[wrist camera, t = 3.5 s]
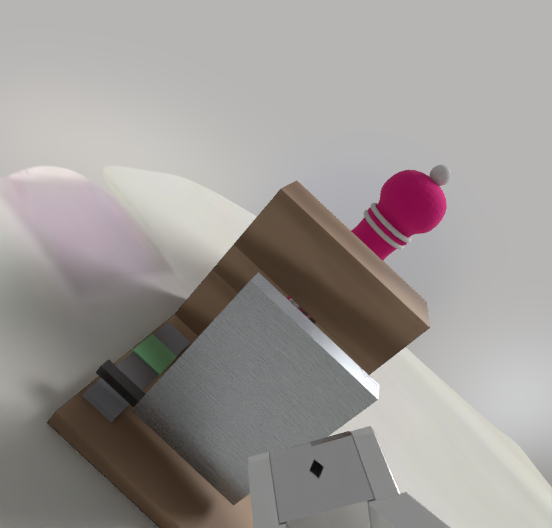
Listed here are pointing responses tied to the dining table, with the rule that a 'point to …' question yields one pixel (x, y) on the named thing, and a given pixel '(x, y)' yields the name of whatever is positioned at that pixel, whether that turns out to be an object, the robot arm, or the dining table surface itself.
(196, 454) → the plunger
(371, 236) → the pepper mill
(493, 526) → the dining table surface
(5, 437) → the dining table surface
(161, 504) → the gauge housing
